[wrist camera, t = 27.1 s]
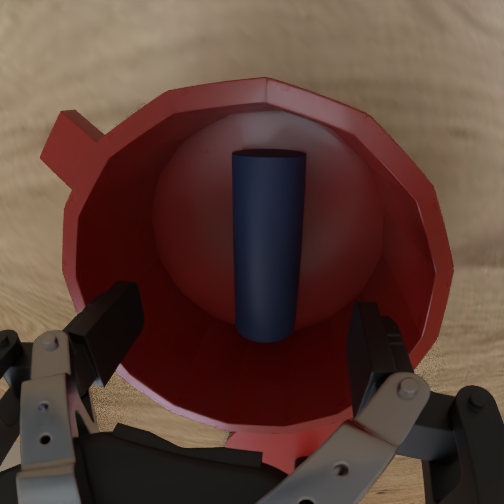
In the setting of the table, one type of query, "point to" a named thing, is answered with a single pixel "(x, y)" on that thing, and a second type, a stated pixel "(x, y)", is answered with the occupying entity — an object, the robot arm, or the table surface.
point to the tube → (267, 240)
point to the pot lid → (282, 445)
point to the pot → (221, 247)
